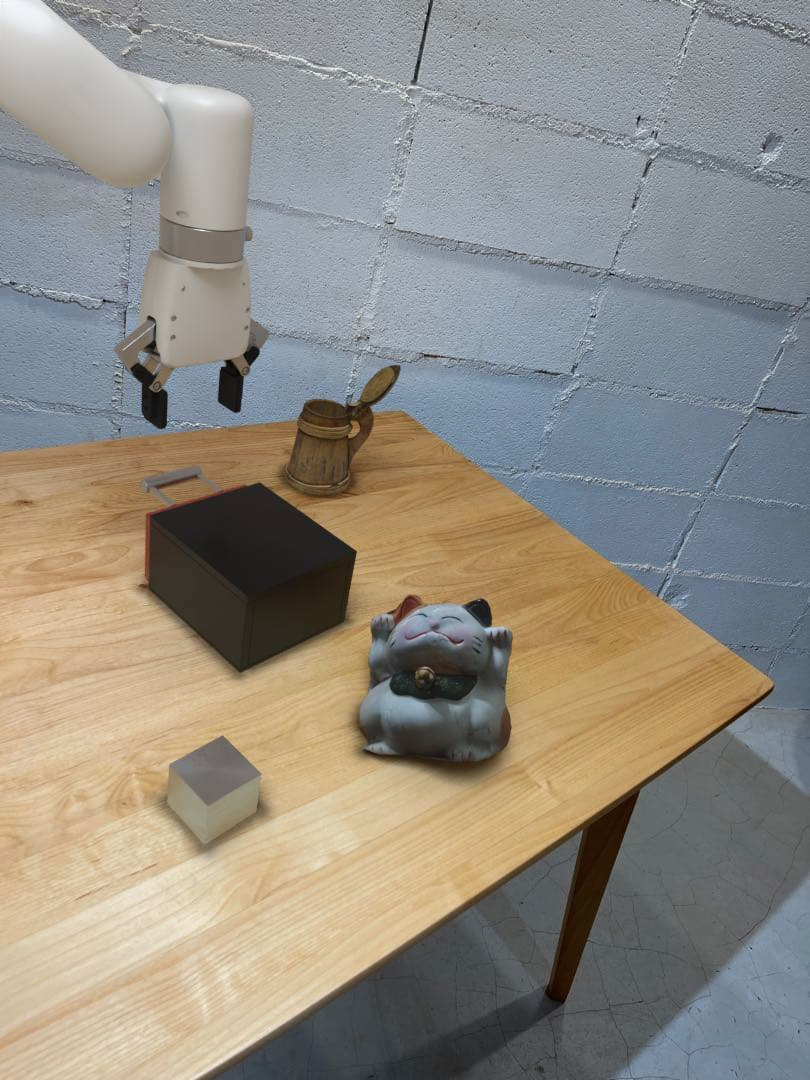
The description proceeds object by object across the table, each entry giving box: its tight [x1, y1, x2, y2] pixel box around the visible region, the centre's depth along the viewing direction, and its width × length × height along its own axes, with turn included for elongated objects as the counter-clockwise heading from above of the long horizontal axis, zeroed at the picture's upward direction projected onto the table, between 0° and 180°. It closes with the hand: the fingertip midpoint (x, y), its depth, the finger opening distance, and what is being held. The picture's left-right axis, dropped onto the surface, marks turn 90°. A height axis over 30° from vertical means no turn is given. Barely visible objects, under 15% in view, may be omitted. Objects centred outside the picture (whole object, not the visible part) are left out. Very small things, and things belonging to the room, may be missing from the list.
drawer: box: [138, 464, 248, 580], centre depth 87 cm, size 20×13×8 cm, turn 47°
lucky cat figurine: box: [358, 593, 514, 763], centre depth 75 cm, size 15×12×14 cm
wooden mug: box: [283, 364, 402, 496], centre depth 109 cm, size 9×14×18 cm, turn 103°
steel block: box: [166, 734, 262, 845], centre depth 64 cm, size 5×5×5 cm
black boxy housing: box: [148, 481, 358, 674], centre depth 84 cm, size 16×14×10 cm
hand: (193, 414), depth 83 cm, fingers open, 8 cm apart
